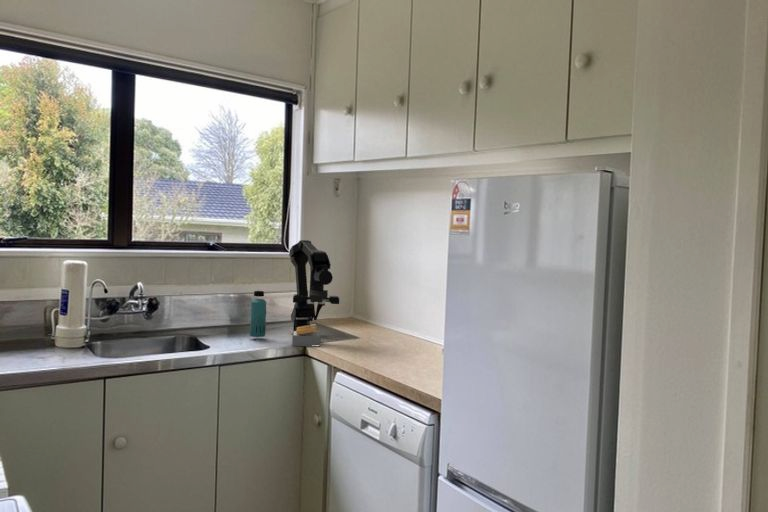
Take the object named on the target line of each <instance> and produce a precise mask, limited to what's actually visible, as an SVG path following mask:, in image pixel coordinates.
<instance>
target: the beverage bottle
mask: <svg viewBox="0 0 768 512" xmlns="http://www.w3.org/2000/svg"><path fill="white" fill-rule="evenodd" d="M253 296H254V297H265V291H263V290H254V292H253ZM266 319H267V301H266V300H265V298H253V299H252V300H251V301H250V319H249V323H250V324H249V336H250V337H253V338H262V337H265V336H266V330H267V328H266V327H267V326H266V323H267V321H266Z"/></svg>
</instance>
